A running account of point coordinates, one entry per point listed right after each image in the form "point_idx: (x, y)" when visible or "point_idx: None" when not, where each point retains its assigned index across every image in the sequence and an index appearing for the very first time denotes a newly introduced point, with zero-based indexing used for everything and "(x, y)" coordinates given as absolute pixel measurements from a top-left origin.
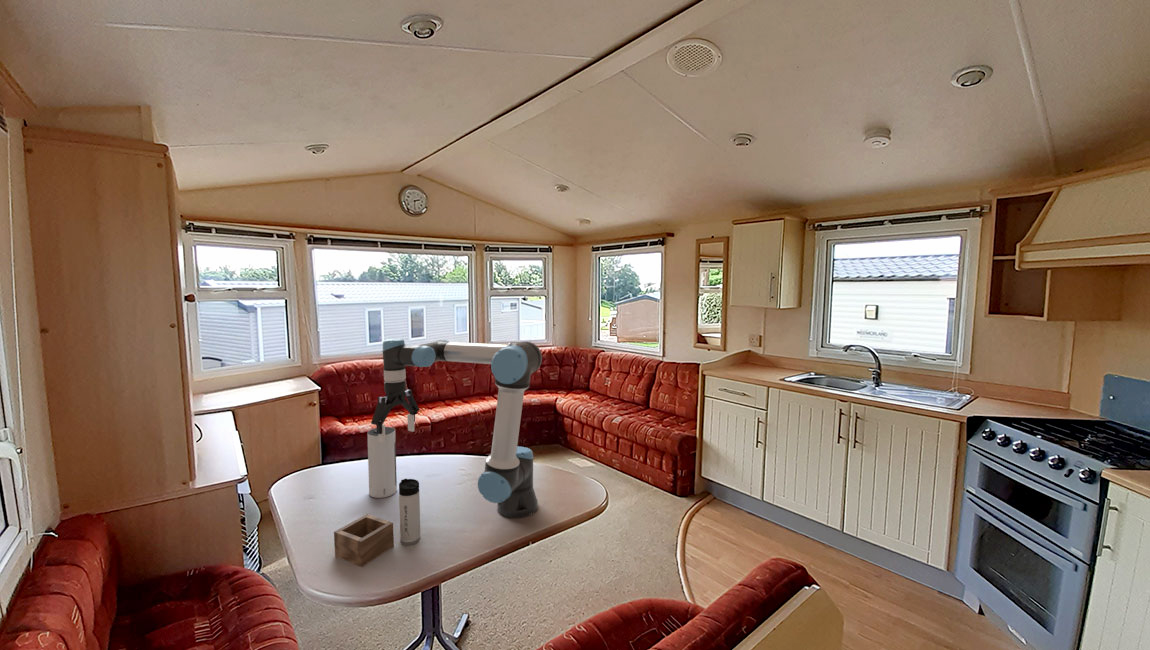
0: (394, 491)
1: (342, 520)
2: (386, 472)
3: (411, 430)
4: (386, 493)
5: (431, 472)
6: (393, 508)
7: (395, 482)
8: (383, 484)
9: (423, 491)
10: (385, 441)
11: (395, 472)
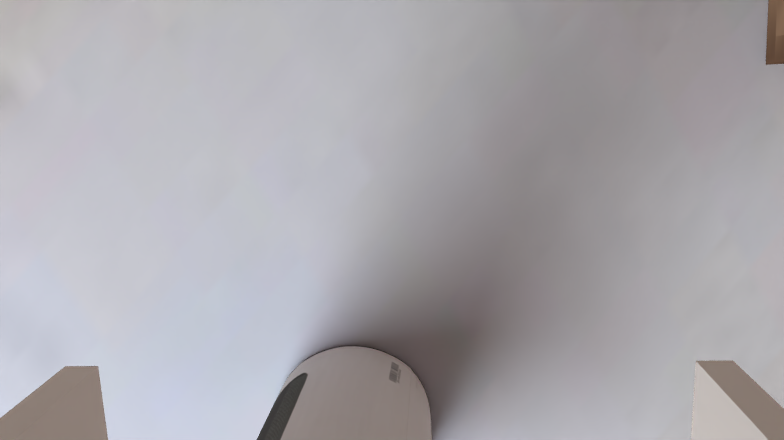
0: (327, 353)
1: (697, 342)
2: (368, 428)
3: (94, 409)
4: (384, 361)
5: (5, 377)
6: (460, 205)
7: (304, 381)
8: (395, 397)
9: (212, 218)
10: (703, 365)
11: (285, 415)
